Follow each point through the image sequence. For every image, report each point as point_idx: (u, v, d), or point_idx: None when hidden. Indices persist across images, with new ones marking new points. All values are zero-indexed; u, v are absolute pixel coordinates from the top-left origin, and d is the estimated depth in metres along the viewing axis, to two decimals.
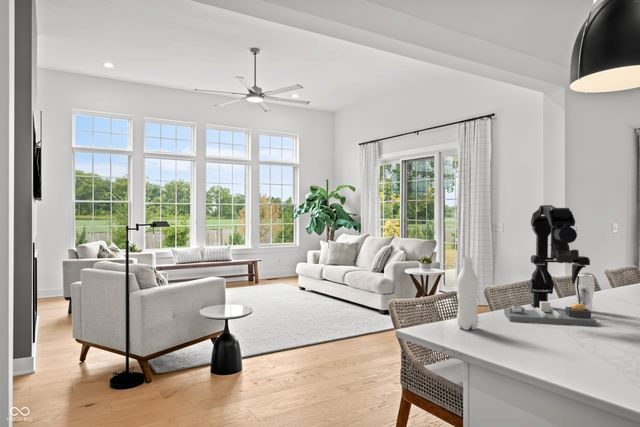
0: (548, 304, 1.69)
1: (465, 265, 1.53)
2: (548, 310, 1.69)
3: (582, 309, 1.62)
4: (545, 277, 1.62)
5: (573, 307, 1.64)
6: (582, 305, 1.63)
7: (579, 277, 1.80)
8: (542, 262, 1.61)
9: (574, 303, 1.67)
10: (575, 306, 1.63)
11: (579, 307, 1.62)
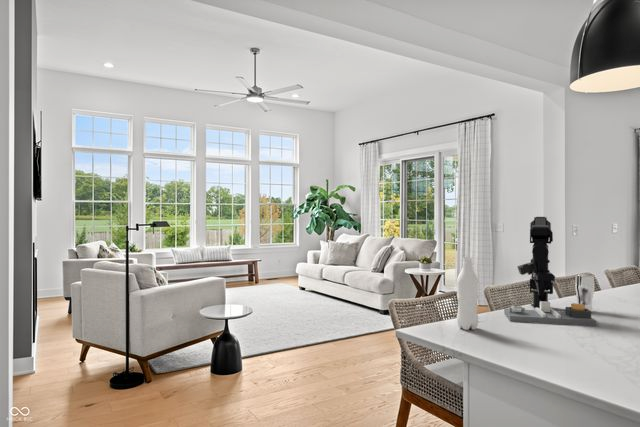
0: (548, 304, 1.69)
1: (465, 265, 1.53)
2: (548, 310, 1.69)
3: (582, 309, 1.62)
4: (537, 289, 1.78)
5: (573, 307, 1.64)
6: (582, 305, 1.63)
7: (579, 277, 1.80)
8: (528, 273, 1.85)
9: (574, 303, 1.67)
10: (575, 306, 1.63)
11: (579, 307, 1.62)
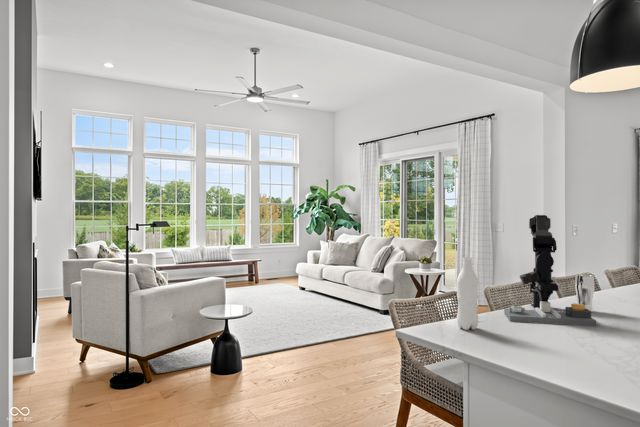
0: (548, 304, 1.69)
1: (465, 265, 1.53)
2: (548, 310, 1.69)
3: (582, 309, 1.62)
4: (540, 299, 1.74)
5: (573, 307, 1.64)
6: (582, 305, 1.63)
7: (579, 277, 1.80)
8: (531, 282, 1.80)
9: (574, 303, 1.67)
10: (575, 306, 1.63)
11: (579, 307, 1.62)
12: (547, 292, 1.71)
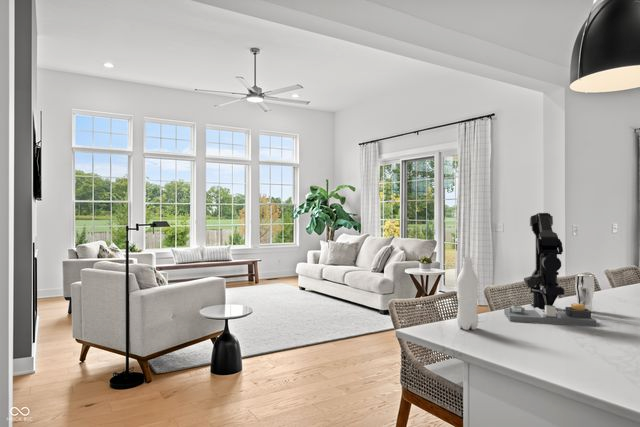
0: (554, 308, 1.62)
1: (465, 265, 1.53)
2: (554, 315, 1.62)
3: (582, 309, 1.62)
4: (545, 303, 1.66)
5: (573, 307, 1.64)
6: (582, 305, 1.63)
7: (579, 277, 1.80)
8: (535, 285, 1.73)
9: (574, 303, 1.67)
10: (575, 306, 1.63)
11: (579, 307, 1.62)
12: (552, 296, 1.64)
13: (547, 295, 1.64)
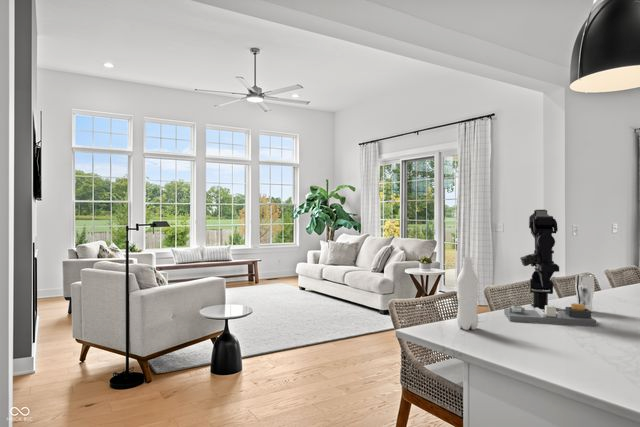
0: (554, 308, 1.62)
1: (465, 265, 1.53)
2: (554, 315, 1.62)
3: (582, 309, 1.62)
4: (541, 281, 1.72)
5: (573, 307, 1.64)
6: (582, 305, 1.63)
7: (579, 277, 1.80)
8: (531, 265, 1.79)
9: (574, 303, 1.67)
10: (575, 306, 1.63)
11: (579, 307, 1.62)
12: (548, 274, 1.70)
13: (543, 273, 1.70)
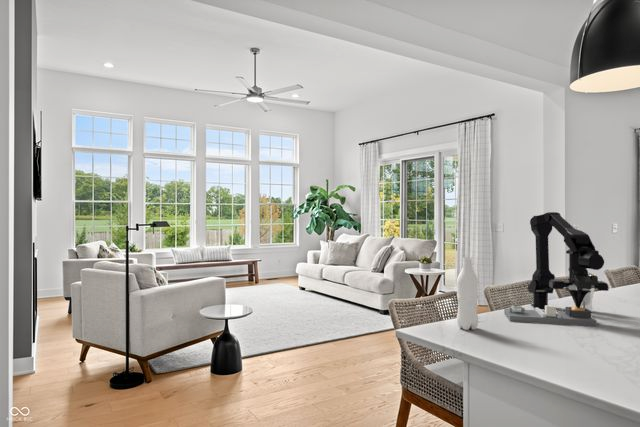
0: (554, 308, 1.62)
1: (465, 265, 1.53)
2: (554, 315, 1.62)
3: None
4: (577, 302, 1.64)
5: None
6: (582, 308, 1.63)
7: None
8: (561, 287, 1.63)
9: None
10: (575, 309, 1.63)
11: (579, 310, 1.62)
12: None
13: None
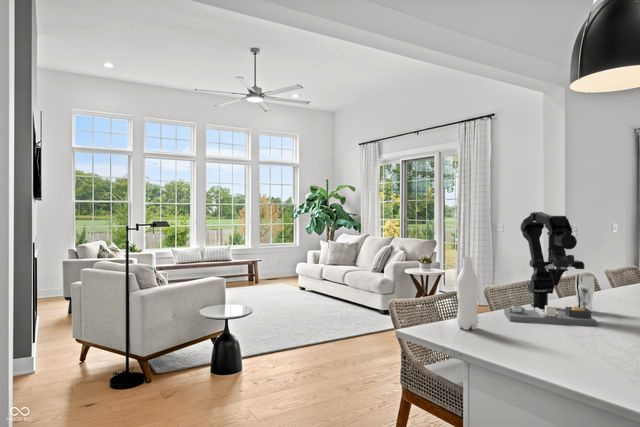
0: (554, 308, 1.62)
1: (465, 265, 1.53)
2: (554, 315, 1.62)
3: None
4: (555, 280, 1.74)
5: None
6: (582, 309, 1.63)
7: (579, 277, 1.80)
8: (540, 266, 1.73)
9: (574, 307, 1.67)
10: None
11: None
12: None
13: None
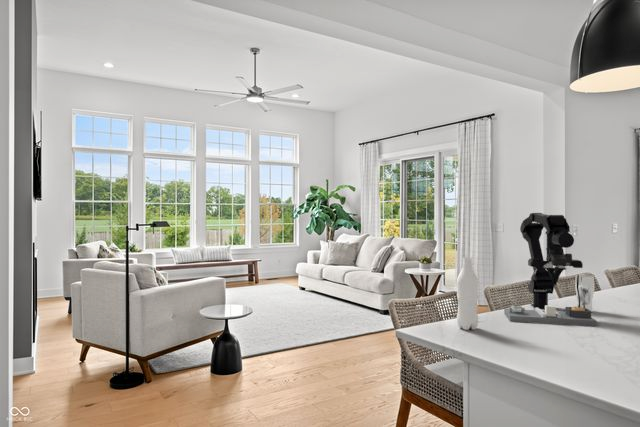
0: (554, 308, 1.62)
1: (465, 265, 1.53)
2: (554, 315, 1.62)
3: None
4: (553, 279, 1.75)
5: None
6: (582, 309, 1.63)
7: (579, 277, 1.80)
8: (538, 265, 1.74)
9: (574, 307, 1.67)
10: None
11: None
12: None
13: None
